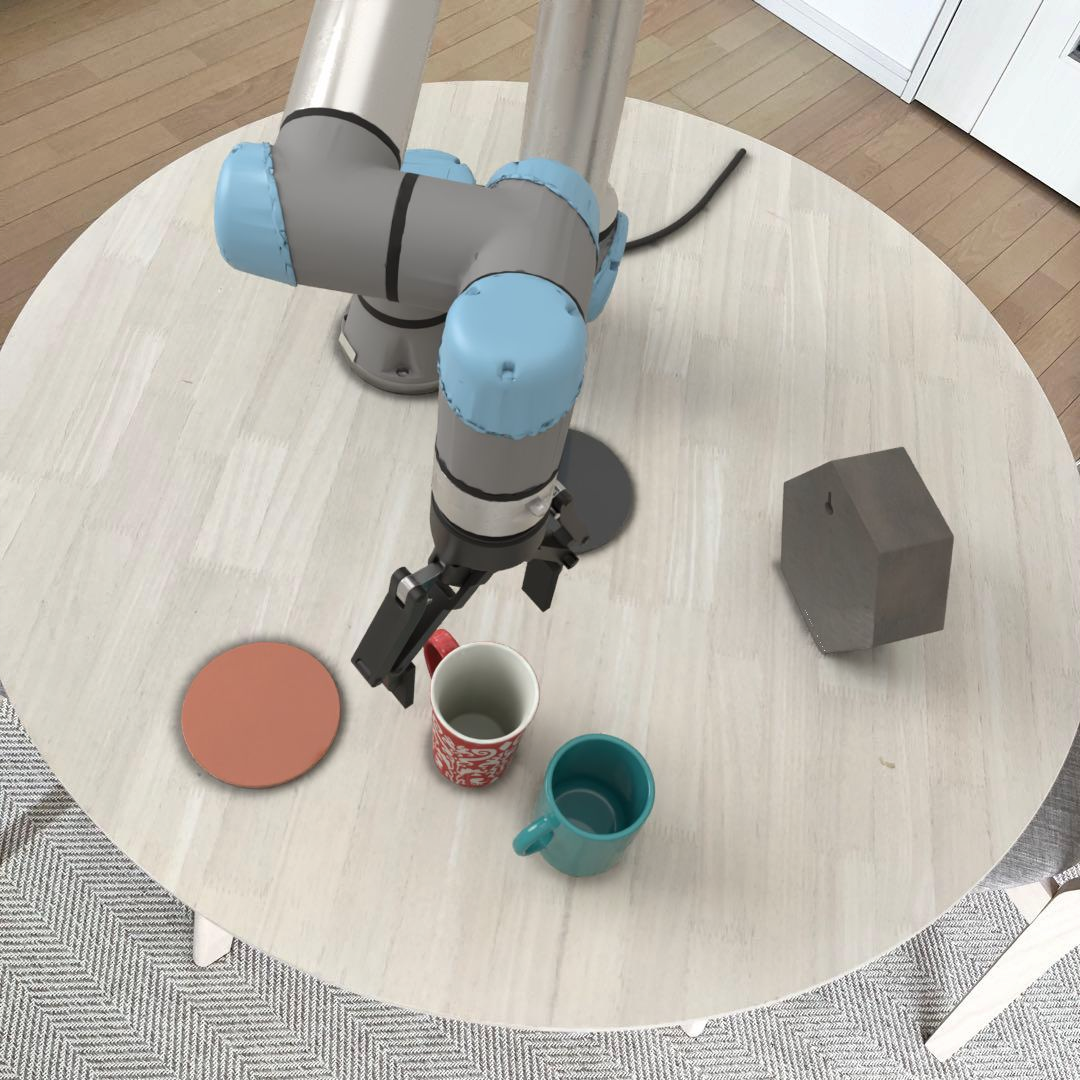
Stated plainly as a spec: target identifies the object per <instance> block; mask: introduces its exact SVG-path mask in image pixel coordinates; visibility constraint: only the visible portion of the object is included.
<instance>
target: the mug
mask: <svg viewBox="0 0 1080 1080" xmlns="http://www.w3.org/2000/svg"><path fill="white" fill-rule="evenodd" d="M422 649H423V650H422V651H423V656H424V661H425V664H426V665H425V666H426V669H427V672H428V674H429V679H430V685H429V700H430V705H431V717H432V720H431V721H432V728H431V730H432V732H431V733H432V743H431V744H432V755H433V760H434V762H435V765H436V767H437V769H438V770H439V772H440V773H441V774H442V775H443V776H444V777H445V778H446V779H447V780H449V781H450V782H452V783H454V784H456V785H458V786H461V787H466V788H480V787H481V788H482V787H485V786H488V785H490V784H493V783H494V782H496V781H497V780H498V779H500V778H502V776H503V775H504V774H505V772H506V771H507V769H508V767H509V766H510V764H511V762H512V759H513V757H514V755H515V753H516V750H517V749H518V747H519V745H520V743H521V740H522V738H523V736H524V734H525V732H526V730H527V727H529V725H530V724H531V722H532V721H533V719H534V718H535V716H536V714H537V711H538V709H539V706H540V700H541V689H540V688H541V687H540V682H539V678H538V675H537V674H536V672H535V670H534V668H533V667H532V665H531V663H530V662H529V661H528V660H527V659H526V658H525V656H523V655H522V654H521V653H520V652H518V651H517V650H515V649H514V648H513V647H511V646H508V645H505V644H503V643H500V642H496V641H488V640H479V641H473V642H468V643H464V644H462V645H460V644H459V642H457V640H456V638H455V637H454V636H453V635H452V634H451V632H449V631H448V630H447V629H444V628H437V630H436V631H435V632H434V633H433V635H432V636H431V637H430V638H429V640H428V641H427V642H426V644H425V645H424V646H423V647H422Z"/></svg>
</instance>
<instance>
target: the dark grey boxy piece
mask: <svg viewBox="0 0 1080 1080" xmlns="http://www.w3.org/2000/svg"><path fill="white" fill-rule="evenodd" d="M782 489H783V490H782V514H781V515H782V517H781V539H780V540H781V543H780V570H781V573H782V574H783V576H784V578H785V580H786V583H787V585H788V588H789V589H790V591H791V593H792V595H793V597H794V600H795V602H796V604H797V606H798V608H799V610H800V612H801V615H802V617H803V620H804V621H805V623H806V625H807V628H808V630H809V632H810V634H811V636H812V638H813V640H814V642H815V645H816V647H817V649H818V651H819V653H821V654H825V653H826V654H828V653H836V652H837V653H838V652H845V651H846V652H847V651H855V650H863V649H864V650H865V649H871V648H876V647H880V646H884V645H885V646H886V645H888V644H892V643H897V642H901V641H904V640H908V639H912V638H916V637H921V636H925V635H928V634H932V633H937V632H941V631H943V630H944V628H945V621H946V611H947V603H948V594H949V585H950V576H951V569H952V560H953V551H954V542H955V536H954V533H953V532H952V530H951V528H950V526H949V525H948V523H947V520H946V519H945V517H944V516H943V514H942V512H941V510H940V508H939V507H938V505H937V503H936V501H935V499H934V498H933V496H932V494H931V493H930V490H929V488H928V487H927V486H926V484H925V482H924V480H923V478H922V476H921V475H920V472H919V471H918V470H917V468H916V466H915V464H914V462H913V460H912V458H911V457H910V455H909V453H908V452H907V450H906V448H905V447H904V446H898V447H893V448H887V449H882V450H878V451H872V452H868V453H863V454H858V455H853V456H848V457H847V456H846V457H843V458H838V459H833V460H830V461H827V462H825V463H823V464H821V465H818V466H817V467H814V468H812V469H810V470H807V471H806V472H803V473H801V474H799V475H797V476H794V477H793V478H790V479H788V480H786V481H784V482H783V486H782ZM805 610H806V611H805ZM806 612H807V613H806ZM807 614H808V615H807ZM809 619H810V620H809ZM810 621H811V622H810ZM811 623H812V624H811ZM812 625H813V626H812ZM817 635H818V637H817ZM820 642H821V643H820ZM822 646H823V647H822ZM824 650H825V651H824Z"/></svg>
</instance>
